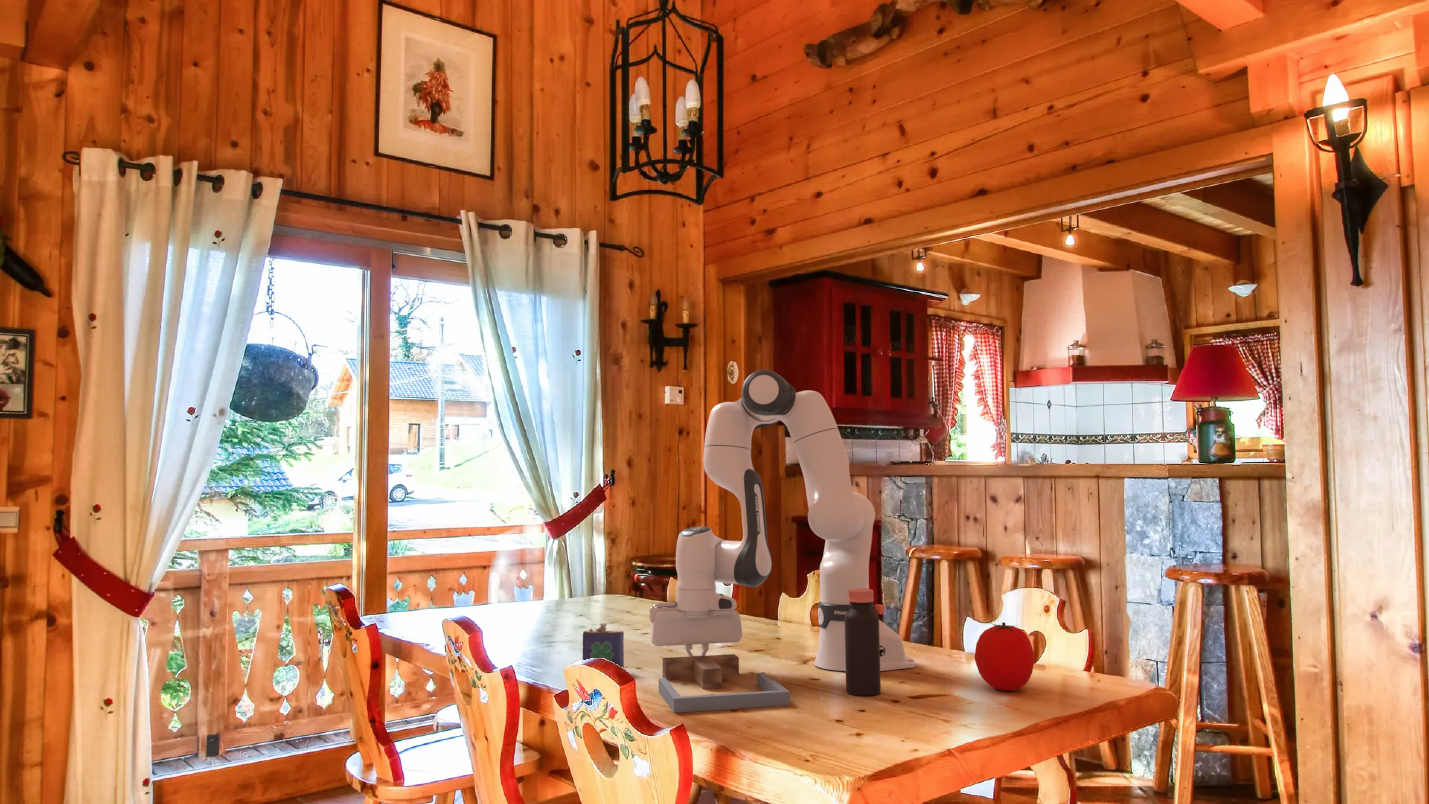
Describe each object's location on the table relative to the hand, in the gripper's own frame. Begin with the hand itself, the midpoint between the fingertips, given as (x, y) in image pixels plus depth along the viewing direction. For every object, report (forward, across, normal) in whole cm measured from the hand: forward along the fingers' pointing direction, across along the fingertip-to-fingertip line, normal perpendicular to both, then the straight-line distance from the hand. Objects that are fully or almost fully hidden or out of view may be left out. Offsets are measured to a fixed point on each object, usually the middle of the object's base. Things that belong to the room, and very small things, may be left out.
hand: (696, 664), depth 206 cm
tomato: (+2, +56, -33) cm, 65 cm away
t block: (+2, 0, -9) cm, 10 cm away
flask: (+2, -20, +6) cm, 21 cm away
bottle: (+2, +28, -28) cm, 40 cm away
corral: (+2, 0, -25) cm, 25 cm away
